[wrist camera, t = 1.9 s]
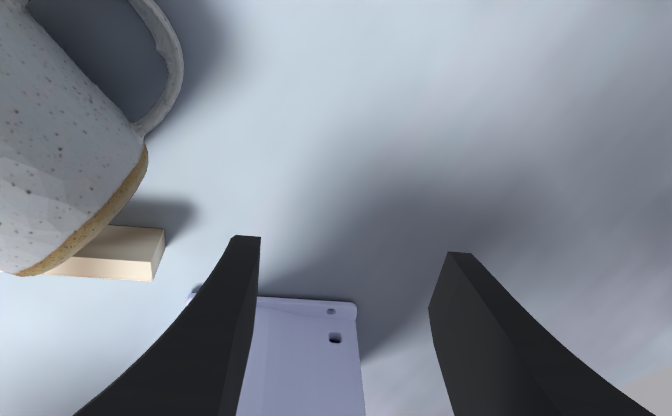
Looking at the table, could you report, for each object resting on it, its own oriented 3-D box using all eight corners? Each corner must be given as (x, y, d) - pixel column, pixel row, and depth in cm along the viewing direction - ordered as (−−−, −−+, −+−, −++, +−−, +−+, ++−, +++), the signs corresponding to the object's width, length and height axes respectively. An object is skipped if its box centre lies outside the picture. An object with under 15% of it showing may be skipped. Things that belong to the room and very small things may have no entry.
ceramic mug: (69, 210, 23) (-20, 334, 16) (-105, 74, 19) (-310, 168, 12) (238, 85, 20) (210, 176, 14) (77, -107, 16) (-70, -105, 10)
